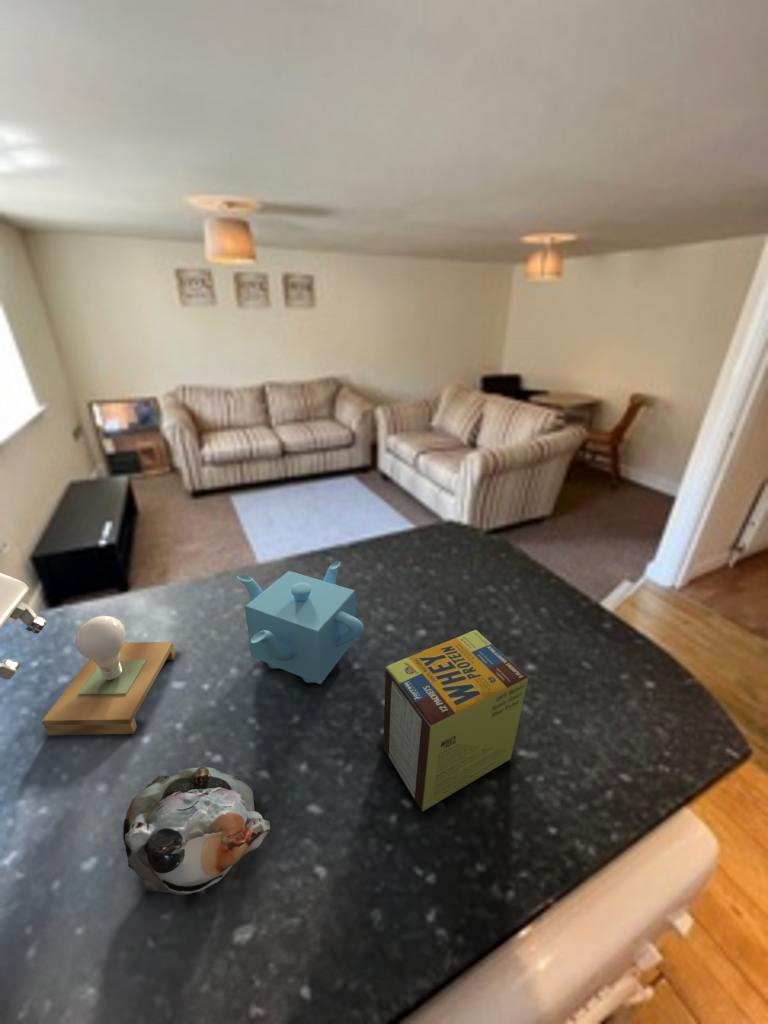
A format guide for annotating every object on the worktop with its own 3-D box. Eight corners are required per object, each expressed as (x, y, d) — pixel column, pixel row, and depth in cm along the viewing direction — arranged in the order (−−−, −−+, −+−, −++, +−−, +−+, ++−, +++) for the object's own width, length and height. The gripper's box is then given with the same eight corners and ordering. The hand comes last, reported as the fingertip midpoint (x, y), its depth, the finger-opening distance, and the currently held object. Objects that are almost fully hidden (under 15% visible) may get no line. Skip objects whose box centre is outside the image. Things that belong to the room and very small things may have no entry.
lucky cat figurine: (264, 776, 59) (284, 749, 50) (248, 895, 51) (268, 891, 42) (142, 769, 55) (138, 738, 46) (103, 897, 47) (88, 893, 38)
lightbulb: (117, 695, 67) (100, 637, 62) (79, 689, 68) (59, 631, 63) (144, 664, 73) (130, 609, 68) (109, 659, 74) (92, 604, 69)
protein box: (512, 759, 63) (530, 676, 56) (421, 814, 56) (430, 727, 49) (465, 705, 71) (476, 627, 64) (380, 747, 64) (383, 665, 57)
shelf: (48, 735, 64) (41, 719, 63) (106, 655, 79) (101, 641, 77) (133, 734, 65) (128, 718, 63) (175, 655, 79) (172, 640, 78)
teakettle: (370, 679, 75) (371, 608, 69) (255, 710, 69) (245, 635, 63) (339, 613, 91) (338, 550, 85) (244, 632, 85) (235, 566, 79)
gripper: (-49, 576, 68) (45, 618, 74) (-155, 675, 50) (-20, 719, 57) (-24, 547, 67) (68, 592, 74) (-123, 638, 49) (10, 687, 56)
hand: (29, 648), depth 65 cm, fingers open, 8 cm apart
